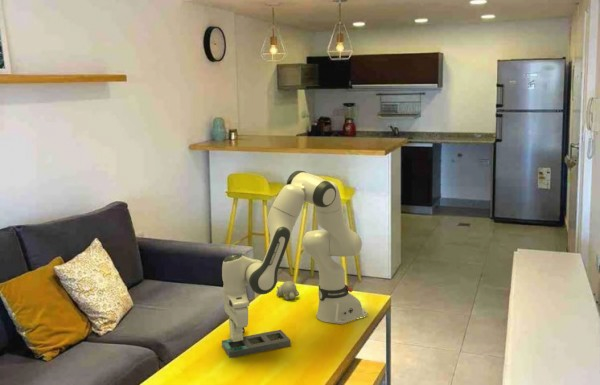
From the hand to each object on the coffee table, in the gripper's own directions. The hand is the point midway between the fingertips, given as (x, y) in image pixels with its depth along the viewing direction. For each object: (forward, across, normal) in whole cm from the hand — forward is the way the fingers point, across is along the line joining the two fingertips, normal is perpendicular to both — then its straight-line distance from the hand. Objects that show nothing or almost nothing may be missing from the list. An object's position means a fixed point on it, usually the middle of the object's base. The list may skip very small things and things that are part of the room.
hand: (236, 330), depth 232 cm
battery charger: (+9, -14, +5) cm, 17 cm away
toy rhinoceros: (+9, -44, +38) cm, 59 cm away
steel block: (+4, 0, 0) cm, 4 cm away
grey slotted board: (+8, 0, +8) cm, 12 cm away
